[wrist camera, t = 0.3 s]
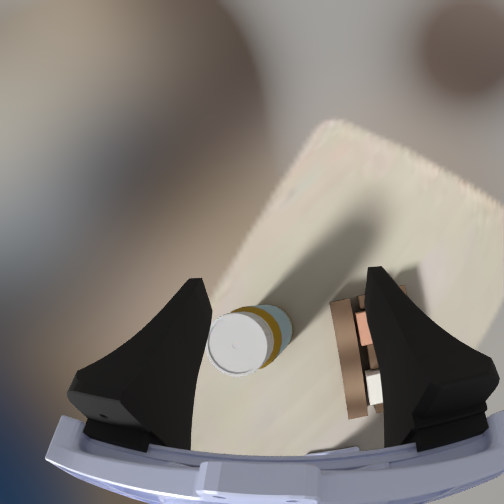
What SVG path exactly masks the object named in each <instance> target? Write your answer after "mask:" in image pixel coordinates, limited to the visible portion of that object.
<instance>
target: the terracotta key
mask: <svg viewBox="0 0 504 504" xmlns="http://www.w3.org/2000/svg"><path fill="white" fill-rule="evenodd" d="M355 316H356V322H357V327H358V333H359V339H360V343H361V345H362V346H364V345H368V344H373V342H372V339H371V335H370V331H369V327H368V324H367V318H366V311H360V312H356V313H355Z"/></svg>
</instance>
